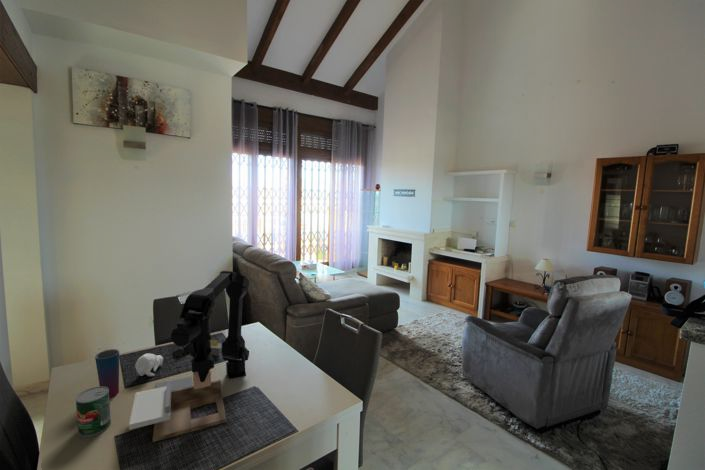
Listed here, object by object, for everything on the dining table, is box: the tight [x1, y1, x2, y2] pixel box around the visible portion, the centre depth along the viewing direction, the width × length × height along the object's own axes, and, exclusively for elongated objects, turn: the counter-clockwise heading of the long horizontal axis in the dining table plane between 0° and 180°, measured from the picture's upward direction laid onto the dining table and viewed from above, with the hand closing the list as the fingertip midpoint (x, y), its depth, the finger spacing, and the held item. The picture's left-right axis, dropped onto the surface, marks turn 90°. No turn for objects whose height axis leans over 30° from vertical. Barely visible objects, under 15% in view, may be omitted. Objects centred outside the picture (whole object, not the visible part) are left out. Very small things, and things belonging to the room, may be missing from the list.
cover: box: [128, 382, 171, 431], centre depth 102 cm, size 10×16×4 cm, turn 27°
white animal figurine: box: [134, 353, 164, 377], centre depth 132 cm, size 6×8×12 cm
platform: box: [210, 339, 222, 357], centre depth 148 cm, size 12×18×7 cm, turn 78°
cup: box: [94, 348, 120, 399], centre depth 117 cm, size 7×7×15 cm
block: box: [192, 369, 212, 389], centre depth 108 cm, size 5×5×5 cm
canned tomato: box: [75, 386, 112, 438], centre depth 100 cm, size 8×8×11 cm
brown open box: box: [152, 379, 227, 443], centre depth 107 cm, size 20×16×6 cm
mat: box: [155, 375, 193, 390], centre depth 121 cm, size 12×12×1 cm
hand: (202, 377), depth 109 cm, fingers closed on block, 5 cm apart
